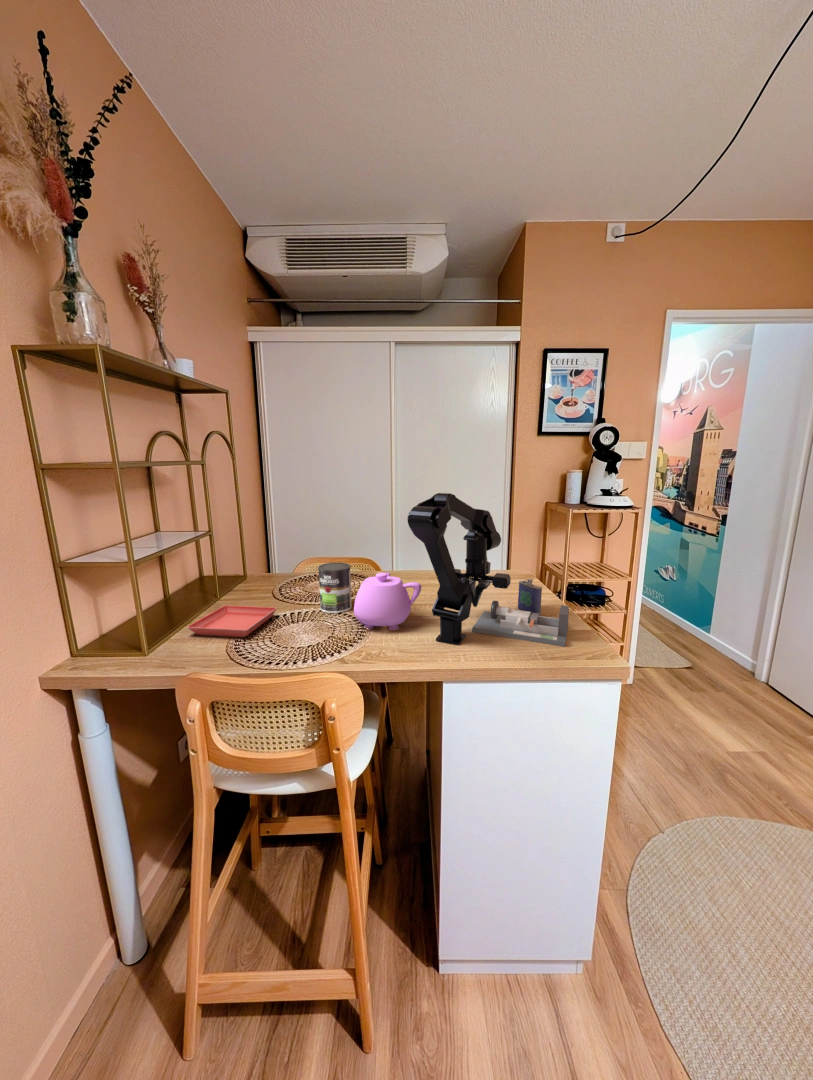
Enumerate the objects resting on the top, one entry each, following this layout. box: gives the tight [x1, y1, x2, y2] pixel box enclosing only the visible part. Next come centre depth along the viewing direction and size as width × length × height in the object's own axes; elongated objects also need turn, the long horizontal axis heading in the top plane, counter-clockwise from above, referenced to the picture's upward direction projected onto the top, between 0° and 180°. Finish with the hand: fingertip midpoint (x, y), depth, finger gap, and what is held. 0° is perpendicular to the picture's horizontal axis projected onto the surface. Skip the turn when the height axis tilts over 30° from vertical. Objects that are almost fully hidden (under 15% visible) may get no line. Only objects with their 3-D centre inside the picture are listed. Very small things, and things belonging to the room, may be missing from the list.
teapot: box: [353, 572, 422, 631], centre depth 119 cm, size 20×20×15 cm
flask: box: [517, 578, 543, 616], centre depth 125 cm, size 9×3×11 cm, turn 25°
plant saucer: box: [187, 605, 278, 638], centre depth 118 cm, size 18×18×3 cm
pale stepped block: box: [490, 599, 531, 625], centre depth 112 cm, size 10×9×6 cm
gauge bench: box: [471, 604, 570, 647], centre depth 112 cm, size 24×14×7 cm, turn 65°
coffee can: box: [317, 562, 352, 614], centre depth 131 cm, size 10×10×14 cm
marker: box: [529, 613, 539, 628], centre depth 109 cm, size 2×9×3 cm, turn 155°
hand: (475, 606), depth 117 cm, fingers closed
